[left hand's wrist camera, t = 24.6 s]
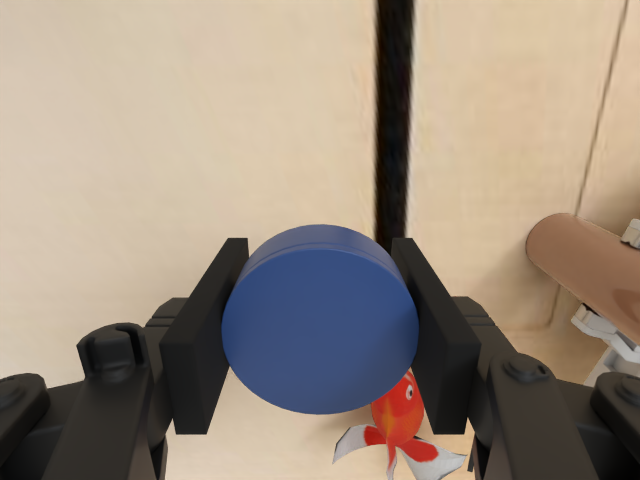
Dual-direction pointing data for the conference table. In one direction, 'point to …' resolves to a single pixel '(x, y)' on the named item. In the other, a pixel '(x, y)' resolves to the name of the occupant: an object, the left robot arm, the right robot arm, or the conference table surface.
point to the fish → (401, 434)
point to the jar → (591, 268)
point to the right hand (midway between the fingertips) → (606, 277)
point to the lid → (320, 321)
